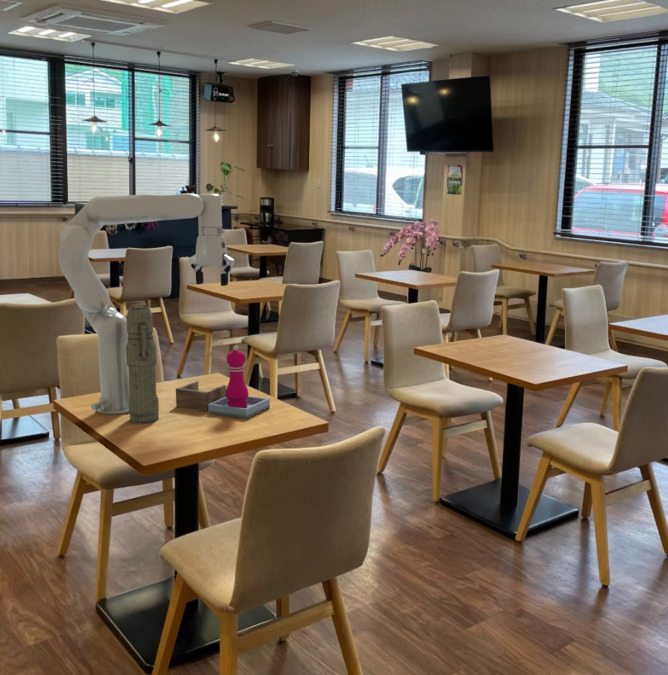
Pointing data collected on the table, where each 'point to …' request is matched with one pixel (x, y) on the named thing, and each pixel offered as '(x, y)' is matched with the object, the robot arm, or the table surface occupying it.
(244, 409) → the slate tray
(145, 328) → the olive piece
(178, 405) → the walnut bay
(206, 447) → the table surface
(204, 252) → the robot arm
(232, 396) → the pepper mill
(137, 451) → the table surface
